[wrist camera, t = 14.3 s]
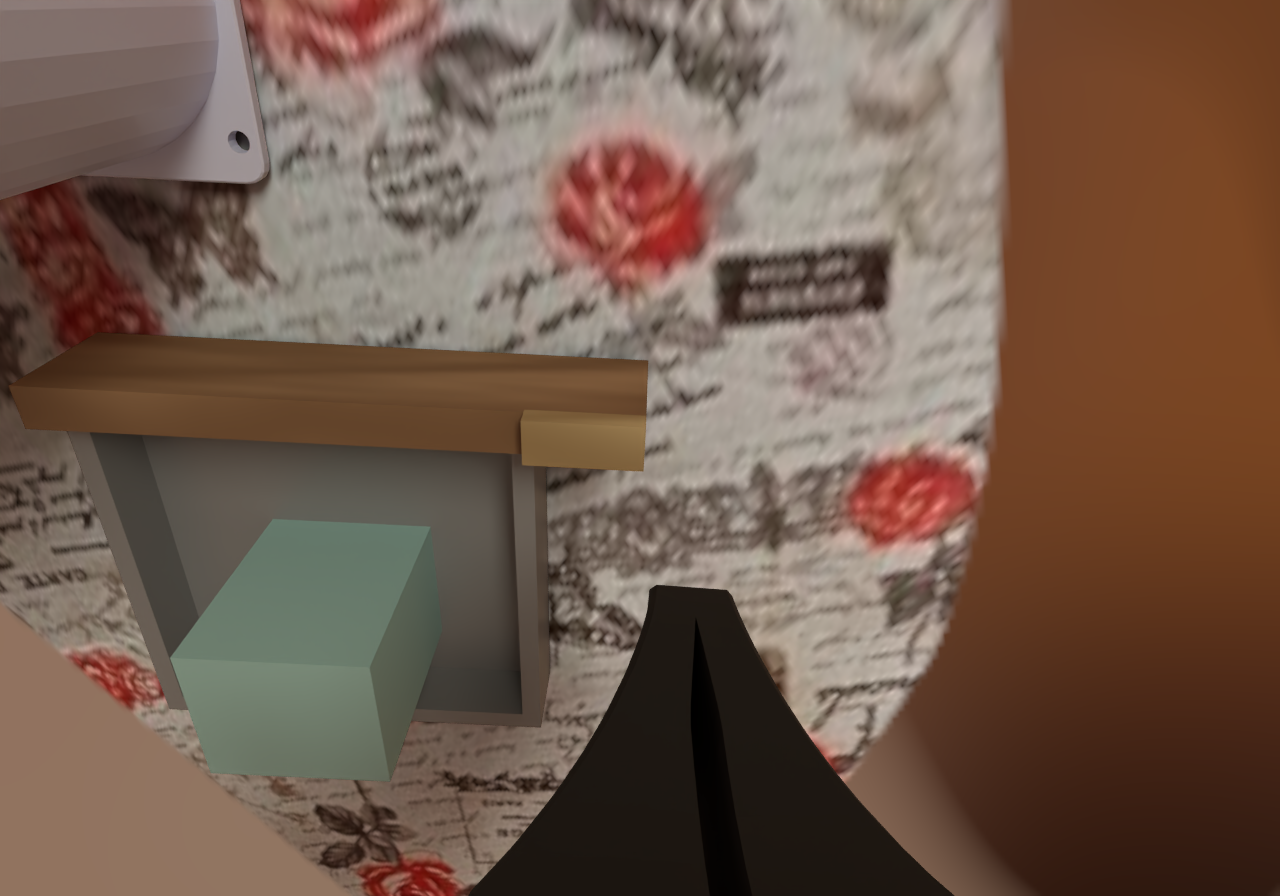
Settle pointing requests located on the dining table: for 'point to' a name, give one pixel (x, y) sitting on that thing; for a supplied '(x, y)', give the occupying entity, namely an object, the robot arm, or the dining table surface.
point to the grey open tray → (352, 493)
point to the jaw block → (314, 651)
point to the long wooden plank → (346, 397)
